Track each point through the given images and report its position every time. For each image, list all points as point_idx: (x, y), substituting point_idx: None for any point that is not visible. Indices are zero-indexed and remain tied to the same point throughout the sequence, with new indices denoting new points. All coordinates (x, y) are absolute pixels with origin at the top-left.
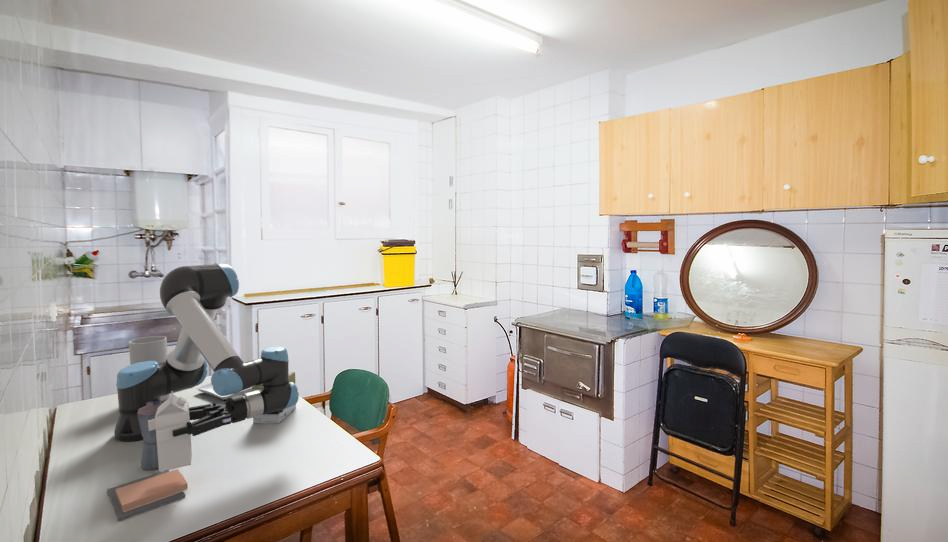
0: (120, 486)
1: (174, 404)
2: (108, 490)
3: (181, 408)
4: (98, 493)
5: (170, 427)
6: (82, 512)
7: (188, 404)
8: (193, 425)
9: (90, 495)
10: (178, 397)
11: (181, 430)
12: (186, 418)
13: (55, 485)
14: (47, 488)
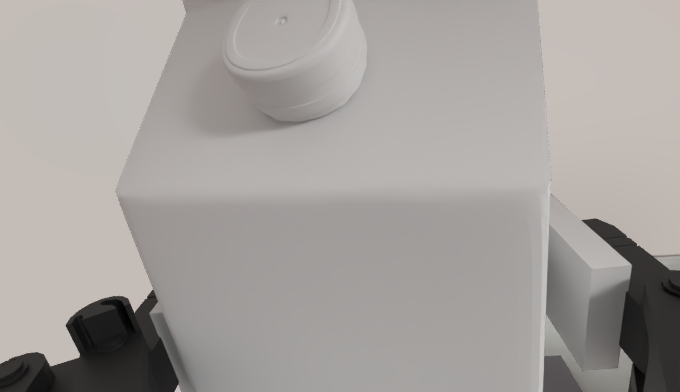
0: (562, 388)
1: (194, 42)
2: (544, 357)
3: (153, 120)
4: (555, 343)
5: None
6: None
7: (465, 200)
8: (21, 361)
9: (550, 328)
10: (533, 6)
11: (143, 309)
12: (153, 270)
13: (673, 267)
14: (656, 258)
